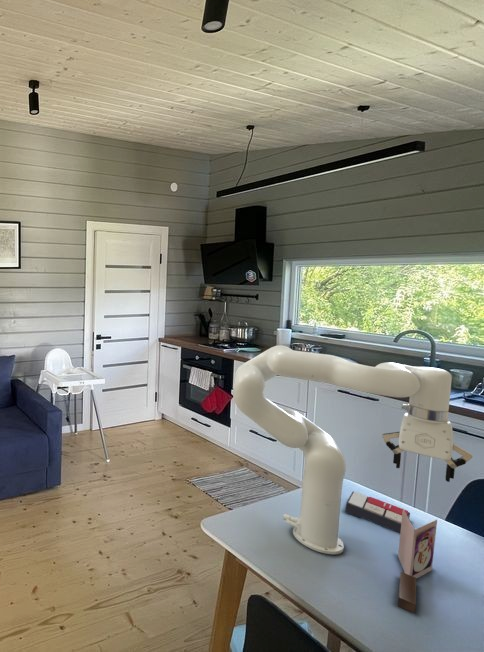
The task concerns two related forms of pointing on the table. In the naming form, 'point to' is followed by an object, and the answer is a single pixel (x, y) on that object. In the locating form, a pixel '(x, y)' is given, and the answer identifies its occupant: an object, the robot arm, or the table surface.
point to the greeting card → (416, 547)
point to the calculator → (375, 511)
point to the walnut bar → (407, 592)
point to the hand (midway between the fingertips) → (421, 473)
